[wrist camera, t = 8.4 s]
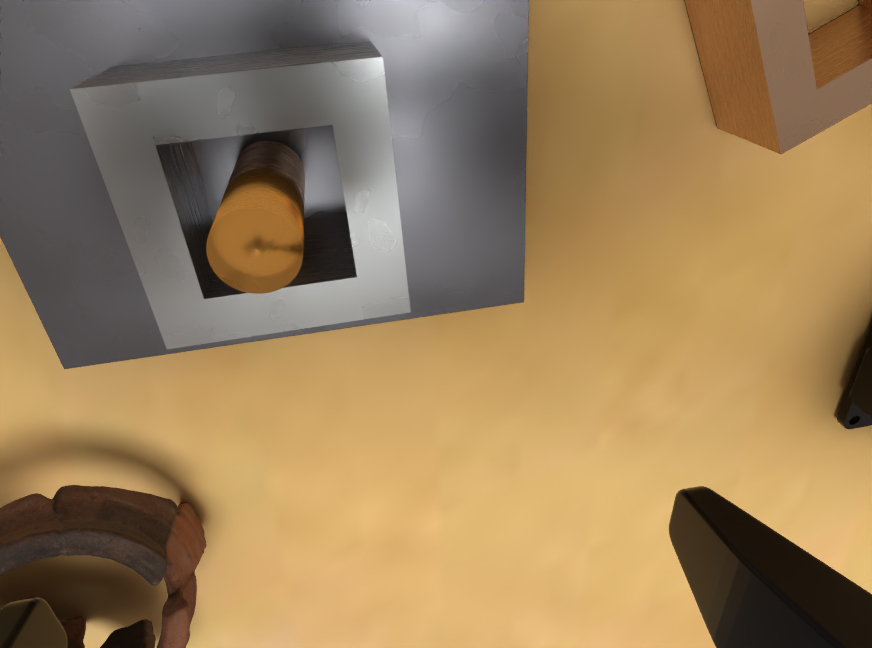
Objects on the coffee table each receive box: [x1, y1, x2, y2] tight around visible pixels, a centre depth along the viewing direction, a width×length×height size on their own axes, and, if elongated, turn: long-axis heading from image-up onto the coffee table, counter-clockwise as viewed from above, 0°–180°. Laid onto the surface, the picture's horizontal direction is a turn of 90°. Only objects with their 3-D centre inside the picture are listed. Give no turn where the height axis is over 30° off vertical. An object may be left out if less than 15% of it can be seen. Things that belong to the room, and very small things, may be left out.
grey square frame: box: [70, 40, 411, 349], centre depth 15 cm, size 6×6×3 cm
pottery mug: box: [0, 485, 206, 648], centre depth 22 cm, size 12×10×8 cm
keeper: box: [0, 0, 529, 369], centre depth 14 cm, size 14×10×6 cm
